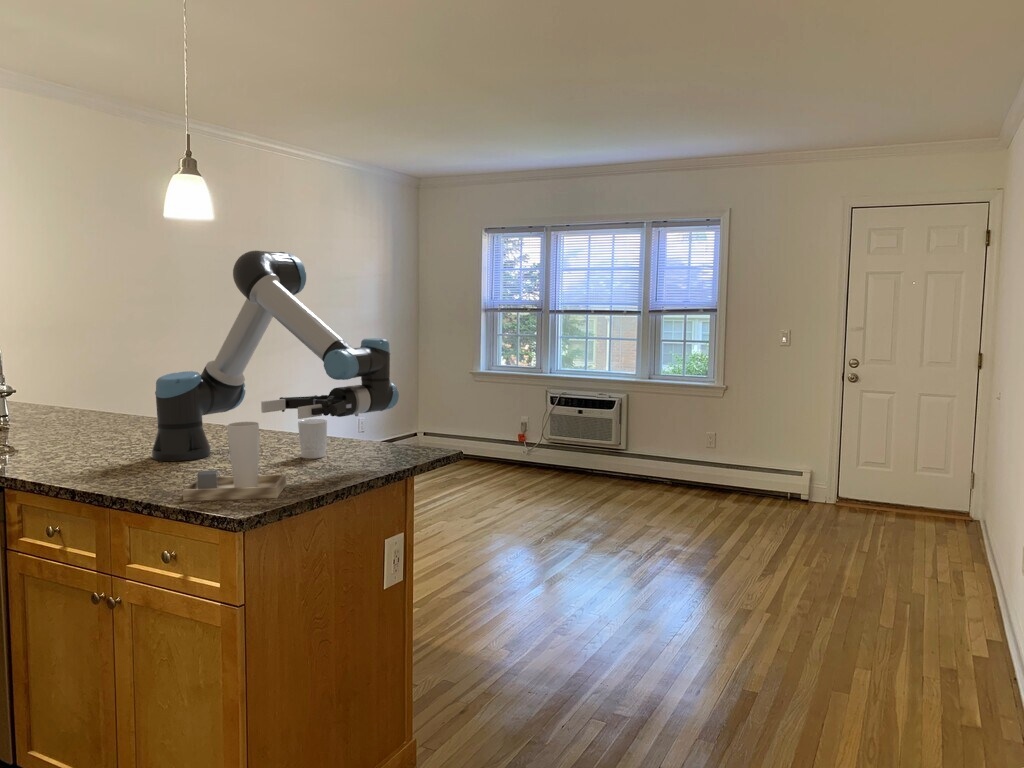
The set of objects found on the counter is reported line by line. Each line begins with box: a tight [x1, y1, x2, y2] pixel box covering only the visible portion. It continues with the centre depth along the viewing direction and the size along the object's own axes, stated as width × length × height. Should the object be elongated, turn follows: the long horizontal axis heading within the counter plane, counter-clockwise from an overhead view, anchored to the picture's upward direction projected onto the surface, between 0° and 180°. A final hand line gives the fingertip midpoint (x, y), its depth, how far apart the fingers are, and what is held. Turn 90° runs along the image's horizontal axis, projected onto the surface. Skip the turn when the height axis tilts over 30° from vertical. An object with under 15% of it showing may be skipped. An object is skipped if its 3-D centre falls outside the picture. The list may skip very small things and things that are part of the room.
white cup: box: [297, 418, 328, 459], centre depth 223 cm, size 8×8×10 cm
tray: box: [182, 474, 288, 502], centre depth 182 cm, size 20×13×2 cm, turn 97°
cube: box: [196, 469, 219, 489], centre depth 181 cm, size 4×4×4 cm
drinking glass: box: [227, 421, 260, 488], centre depth 182 cm, size 7×7×15 cm
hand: (280, 410), depth 188 cm, fingers open, 13 cm apart
